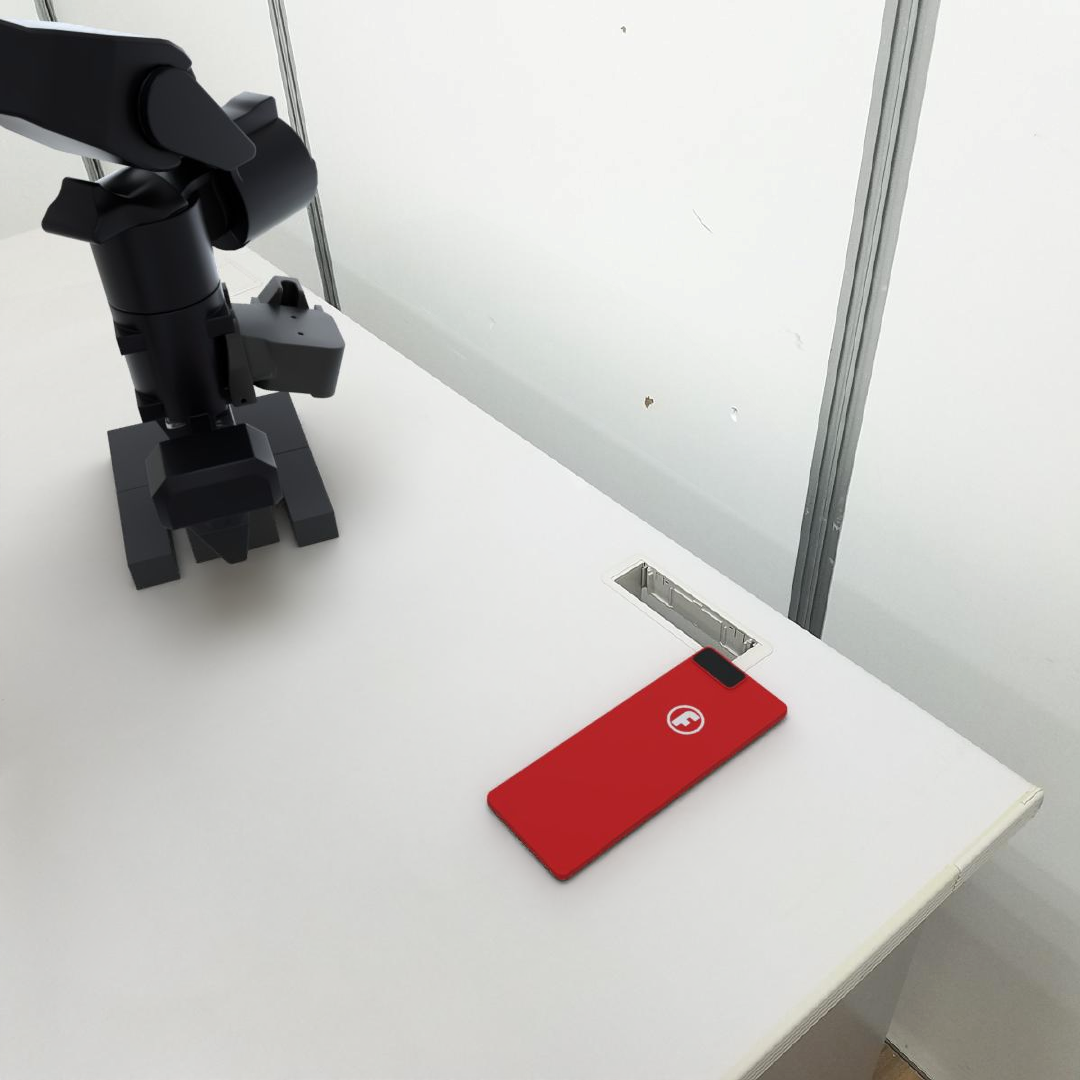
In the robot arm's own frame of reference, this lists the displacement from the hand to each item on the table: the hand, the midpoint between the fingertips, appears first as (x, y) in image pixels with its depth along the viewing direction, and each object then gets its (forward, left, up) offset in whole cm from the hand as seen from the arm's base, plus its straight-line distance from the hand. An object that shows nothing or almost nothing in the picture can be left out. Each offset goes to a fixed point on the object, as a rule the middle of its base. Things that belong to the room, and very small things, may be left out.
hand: (228, 523), depth 69 cm
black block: (0, +1, -1) cm, 1 cm away
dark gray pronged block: (0, +4, -1) cm, 4 cm away
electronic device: (+16, -25, -1) cm, 29 cm away
